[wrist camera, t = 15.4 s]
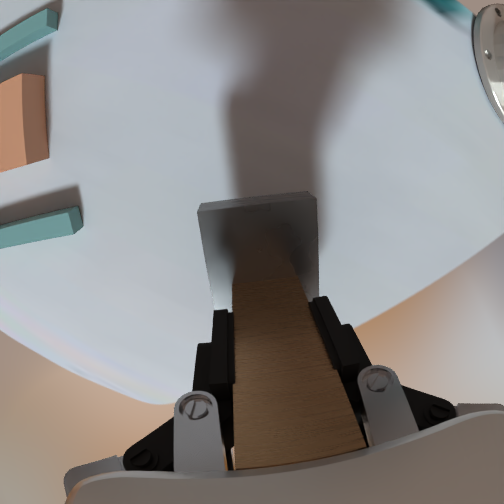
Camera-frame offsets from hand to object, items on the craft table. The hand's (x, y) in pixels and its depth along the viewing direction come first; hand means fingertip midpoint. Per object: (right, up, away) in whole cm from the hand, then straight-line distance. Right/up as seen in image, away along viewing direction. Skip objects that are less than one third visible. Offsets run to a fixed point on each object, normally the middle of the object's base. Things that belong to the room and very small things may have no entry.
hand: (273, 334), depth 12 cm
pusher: (0, +1, +4) cm, 4 cm away
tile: (-18, +12, +4) cm, 22 cm away
